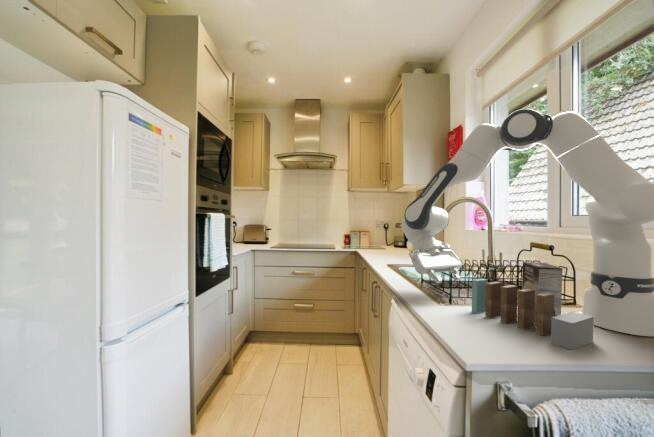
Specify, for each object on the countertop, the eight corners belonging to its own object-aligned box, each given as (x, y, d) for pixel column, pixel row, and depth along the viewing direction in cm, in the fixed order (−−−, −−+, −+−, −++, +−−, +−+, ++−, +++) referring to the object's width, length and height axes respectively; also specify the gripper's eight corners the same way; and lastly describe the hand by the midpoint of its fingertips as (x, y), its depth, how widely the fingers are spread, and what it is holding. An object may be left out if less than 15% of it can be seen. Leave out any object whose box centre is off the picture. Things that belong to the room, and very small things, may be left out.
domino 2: (485, 316, 83) (485, 283, 83) (495, 314, 86) (496, 281, 85) (490, 318, 82) (491, 284, 82) (501, 315, 84) (501, 282, 84)
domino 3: (500, 321, 79) (501, 286, 79) (511, 319, 81) (511, 284, 81) (506, 323, 78) (506, 287, 78) (516, 321, 80) (517, 286, 80)
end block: (572, 335, 70) (573, 311, 70) (593, 341, 67) (593, 316, 67) (551, 342, 66) (551, 317, 66) (571, 350, 62) (572, 323, 62)
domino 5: (535, 333, 71) (536, 294, 71) (546, 330, 73) (547, 292, 73) (542, 336, 70) (543, 296, 70) (553, 332, 72) (554, 294, 72)
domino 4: (517, 327, 75) (517, 290, 75) (527, 324, 77) (528, 288, 77) (523, 329, 74) (524, 291, 74) (534, 326, 76) (535, 289, 76)
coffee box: (520, 313, 87) (521, 261, 86) (543, 315, 85) (544, 262, 85) (536, 324, 78) (537, 266, 77) (562, 326, 76) (563, 267, 76)
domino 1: (471, 311, 87) (472, 279, 87) (482, 309, 90) (482, 278, 90) (476, 313, 86) (477, 280, 86) (486, 311, 88) (487, 279, 88)
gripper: (411, 245, 100) (432, 278, 91) (451, 243, 109) (474, 273, 100) (402, 256, 104) (421, 288, 95) (442, 253, 113) (462, 283, 104)
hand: (449, 281), depth 98 cm, fingers open, 8 cm apart
